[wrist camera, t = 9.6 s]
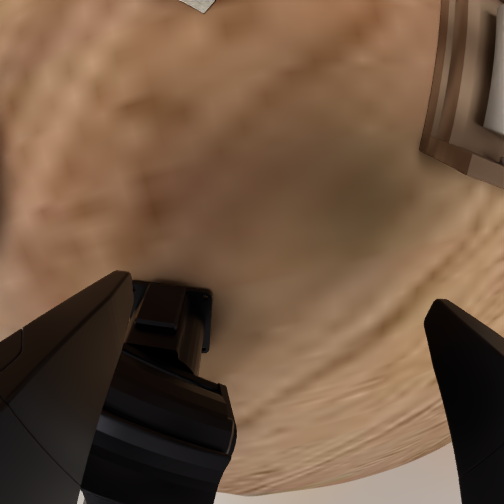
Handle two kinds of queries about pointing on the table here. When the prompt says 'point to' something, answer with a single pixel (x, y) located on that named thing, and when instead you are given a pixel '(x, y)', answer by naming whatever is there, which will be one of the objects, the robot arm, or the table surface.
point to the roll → (497, 81)
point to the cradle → (464, 92)
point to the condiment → (199, 4)
